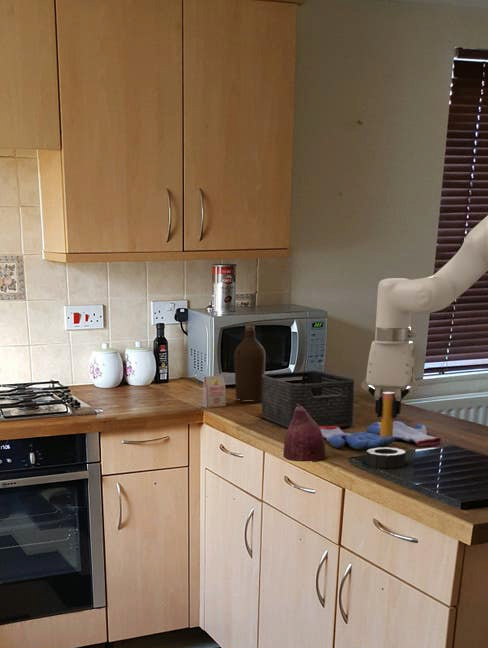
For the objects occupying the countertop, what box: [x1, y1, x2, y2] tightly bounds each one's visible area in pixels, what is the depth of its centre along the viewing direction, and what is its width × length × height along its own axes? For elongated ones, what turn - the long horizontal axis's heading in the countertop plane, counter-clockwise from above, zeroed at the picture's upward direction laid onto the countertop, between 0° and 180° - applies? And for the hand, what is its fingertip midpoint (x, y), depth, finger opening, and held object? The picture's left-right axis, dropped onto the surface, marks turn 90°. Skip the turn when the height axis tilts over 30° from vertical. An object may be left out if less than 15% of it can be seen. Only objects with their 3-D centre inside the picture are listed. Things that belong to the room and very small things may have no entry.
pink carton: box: [202, 375, 227, 409], centre depth 290 cm, size 4×7×10 cm, turn 108°
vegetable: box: [283, 404, 327, 463], centre depth 213 cm, size 10×10×15 cm
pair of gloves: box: [319, 420, 442, 451], centre depth 232 cm, size 32×26×4 cm
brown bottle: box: [233, 325, 267, 404], centre depth 295 cm, size 11×11×25 cm
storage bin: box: [261, 370, 355, 429], centre depth 258 cm, size 29×19×13 cm
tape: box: [365, 446, 407, 469], centre depth 207 cm, size 9×9×3 cm
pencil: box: [380, 391, 396, 437], centre depth 203 cm, size 3×3×10 cm
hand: (387, 416), depth 203 cm, fingers closed on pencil, 2 cm apart
